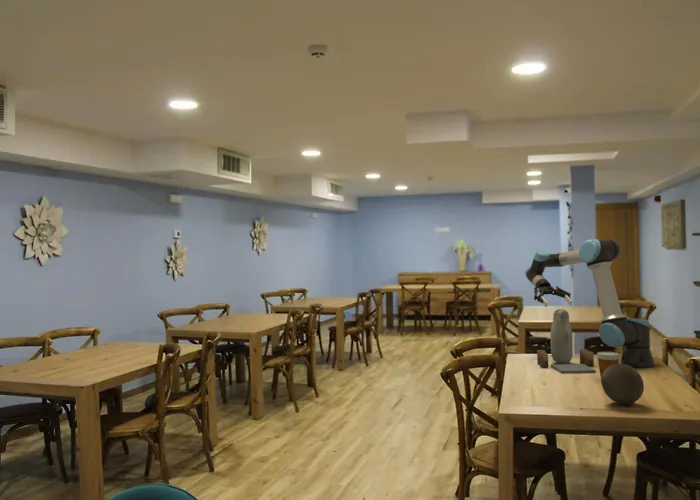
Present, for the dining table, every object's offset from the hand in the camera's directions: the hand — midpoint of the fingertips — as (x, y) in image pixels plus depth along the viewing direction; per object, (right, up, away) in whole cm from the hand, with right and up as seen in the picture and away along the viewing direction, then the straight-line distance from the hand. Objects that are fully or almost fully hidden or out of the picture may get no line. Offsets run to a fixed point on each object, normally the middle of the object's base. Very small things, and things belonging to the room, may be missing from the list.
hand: (558, 304), depth 301 cm
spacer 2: (-13, -30, -16) cm, 36 cm away
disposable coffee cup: (+4, -29, -48) cm, 57 cm away
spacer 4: (+9, -29, -16) cm, 35 cm away
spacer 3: (+10, -29, -9) cm, 32 cm away
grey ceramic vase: (-1, -30, -9) cm, 31 cm away
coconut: (-8, -29, -87) cm, 93 cm away
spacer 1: (-12, -30, -8) cm, 33 cm away
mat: (-2, -30, -23) cm, 38 cm away
